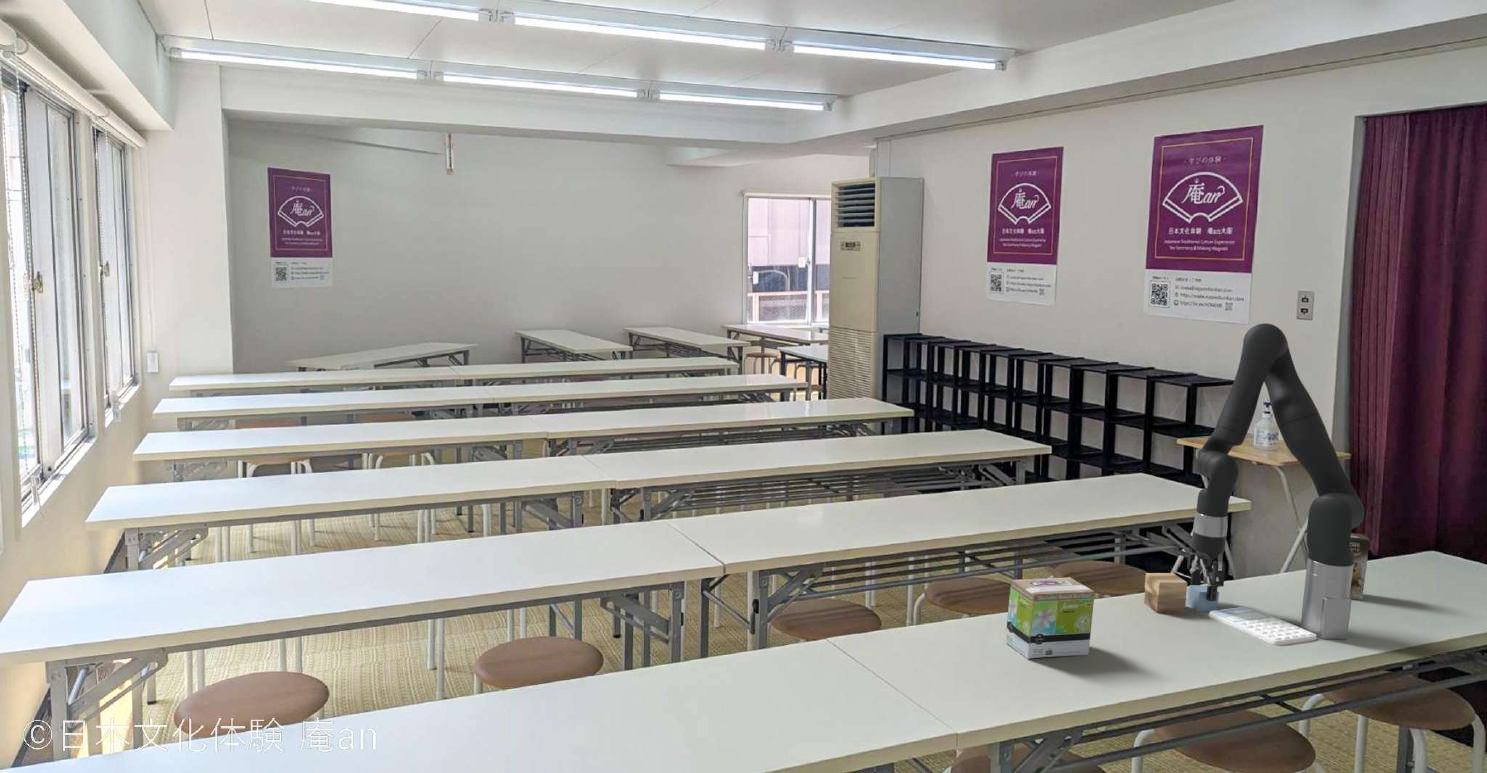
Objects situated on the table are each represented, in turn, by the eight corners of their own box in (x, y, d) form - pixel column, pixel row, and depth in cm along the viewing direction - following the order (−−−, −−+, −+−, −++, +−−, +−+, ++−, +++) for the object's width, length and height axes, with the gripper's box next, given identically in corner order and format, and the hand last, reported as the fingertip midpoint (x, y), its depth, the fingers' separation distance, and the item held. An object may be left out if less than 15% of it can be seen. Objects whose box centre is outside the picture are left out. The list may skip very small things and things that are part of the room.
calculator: (1275, 648, 232) (1276, 639, 231) (1206, 617, 250) (1207, 609, 250) (1318, 641, 236) (1319, 633, 236) (1247, 611, 255) (1248, 604, 255)
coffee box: (1323, 595, 267) (1330, 535, 265) (1317, 588, 274) (1324, 529, 271) (1363, 600, 265) (1370, 539, 263) (1356, 592, 271) (1363, 533, 269)
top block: (1185, 598, 250) (1187, 582, 250) (1158, 598, 250) (1159, 582, 249) (1171, 588, 257) (1173, 573, 257) (1144, 588, 257) (1145, 572, 256)
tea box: (1028, 660, 218) (1033, 593, 216) (1004, 643, 228) (1009, 578, 226) (1090, 655, 222) (1095, 589, 220) (1064, 638, 232) (1069, 574, 230)
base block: (1184, 614, 251) (1186, 598, 250) (1156, 613, 250) (1158, 598, 250) (1171, 604, 258) (1172, 588, 257) (1144, 603, 257) (1145, 588, 257)
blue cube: (1217, 611, 253) (1219, 592, 252) (1197, 611, 253) (1199, 591, 252) (1207, 604, 258) (1208, 585, 257) (1187, 604, 258) (1189, 585, 257)
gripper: (1239, 540, 246) (1231, 605, 249) (1211, 523, 260) (1204, 585, 263) (1208, 539, 246) (1201, 604, 249) (1181, 522, 260) (1175, 584, 263)
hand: (1202, 594), depth 256 cm, fingers open, 8 cm apart
